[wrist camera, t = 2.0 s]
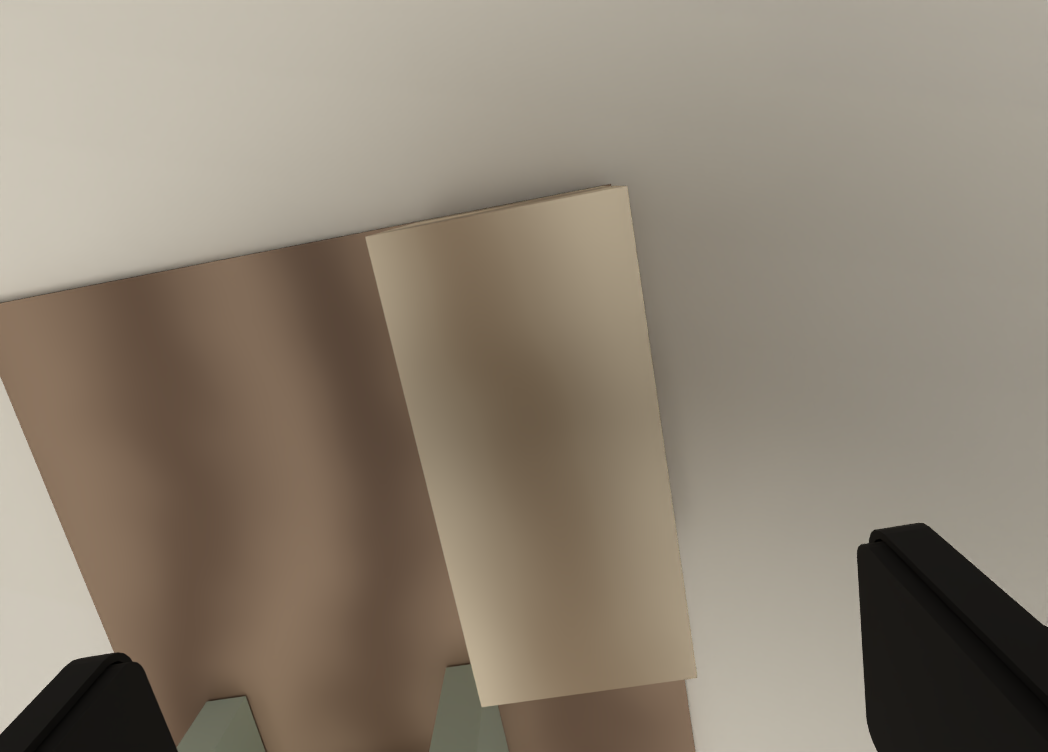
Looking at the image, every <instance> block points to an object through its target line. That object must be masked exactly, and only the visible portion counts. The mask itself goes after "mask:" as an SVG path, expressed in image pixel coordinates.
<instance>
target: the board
mask: <svg viewBox="0 0 1048 752" xmlns="http://www.w3.org/2000/svg"><path fill="white" fill-rule="evenodd" d="M603 186H611V184H608V185H603ZM598 187H600V186H598ZM593 188H595V187H593ZM587 189H590V188H587ZM582 190H584V189H582ZM577 191H579V190H577ZM572 192H574V191H572ZM567 193H569V192H567ZM562 194H564V193H562ZM557 195H559V194H557ZM552 196H554V195H552ZM546 197H549V196H546ZM541 198H543V197H541ZM536 199H538V198H536ZM531 200H533V199H531ZM526 201H528V200H526ZM521 202H523V201H521ZM516 203H518V202H516ZM511 204H513V203H511ZM505 205H508V204H505ZM500 206H502V205H500ZM495 207H497V206H495ZM490 208H492V207H490ZM485 209H487V208H485ZM480 210H482V209H480ZM475 211H477V210H475ZM470 212H472V211H470ZM464 213H467V212H464ZM459 214H461V213H459ZM454 215H456V214H454ZM449 216H451V215H449ZM444 217H446V216H444ZM439 218H441V217H439ZM434 219H436V218H434ZM429 220H431V219H429ZM423 221H426V220H423ZM418 222H420V221H418ZM413 223H416V222H413ZM409 224H412V223H408V224H403V225H398V226H393V227H388V228H382V229H377V230H372V231H367V232H362V233H357V234H352V235H347V236H341V237H336V238H331V239H326V240H321V241H316V242H311V243H306V244H300V245H295V246H290V247H285V248H280V249H275V250H270V251H265V252H259V253H254V254H249V255H244V256H239V257H234V258H229V259H224V260H218V261H213V262H208V263H203V264H198V265H193V266H188V267H183V268H177V269H172V270H167V271H162V272H157V273H152V274H147V275H142V276H136V277H131V278H126V279H121V280H116V281H111V282H106V283H101V284H95V285H90V286H85V287H80V288H75V289H70V290H65V291H60V292H54V293H49V294H44V295H39V296H34V297H29V298H24V299H19V300H13V301H8V302H3V303H0V377H1V379H2V382H3V384H4V386H5V389H6V391H7V394H8V396H9V399H10V401H11V403H12V406H13V408H14V411H15V413H16V416H17V418H18V420H19V423H20V425H21V428H22V430H23V433H24V435H25V437H26V440H27V442H28V445H29V447H30V449H31V452H32V454H33V457H34V459H35V462H36V464H37V466H38V469H39V471H40V474H41V476H42V479H43V481H44V483H45V486H46V488H47V491H48V493H49V496H50V498H51V500H52V503H53V505H54V508H55V510H56V513H57V515H58V517H59V520H60V522H61V525H62V527H63V530H64V532H65V534H66V537H67V539H68V542H69V544H70V547H71V549H72V551H73V554H74V556H75V559H76V561H77V564H78V566H79V568H80V571H81V573H82V576H83V578H84V581H85V583H86V585H87V588H88V590H89V593H90V595H91V598H92V600H93V602H94V605H95V607H96V610H97V612H98V615H99V617H100V619H101V622H102V624H103V627H104V629H105V631H106V634H107V636H108V639H109V641H110V644H111V646H112V648H113V651H114V653H116V652H120V653H125V654H126V655H127V656H129V657H130V658H131V660H132V661H133V662H138V663H139V664H140V665H141V666H142V667H143V669H144V671H145V673H146V675H147V678H148V680H149V683H150V685H151V687H152V690H153V692H154V695H155V697H156V699H157V702H158V704H159V707H160V709H161V712H162V714H163V716H164V719H165V721H166V724H167V726H168V729H169V731H170V733H171V736H172V738H173V741H174V743H175V745H176V748H177V746H178V745H179V743H180V742H181V740H182V739H183V737H184V735H185V734H186V732H187V731H188V729H189V728H190V726H191V725H192V723H193V722H194V720H195V719H196V717H197V716H198V714H199V713H200V711H201V709H202V708H203V706H204V705H205V703H206V702H207V701H215V700H222V699H229V698H236V697H243V696H246V699H247V701H248V704H249V707H250V710H251V713H252V715H253V718H254V721H255V724H256V727H257V729H258V732H259V735H260V738H261V741H262V743H263V746H264V749H265V752H429V750H430V745H431V740H432V735H433V730H434V725H435V720H436V715H437V710H438V705H439V700H440V695H441V690H442V685H443V680H444V675H445V671H446V668H447V667H454V666H461V665H468V664H471V663H470V658H469V654H468V650H467V646H466V642H465V638H464V634H463V630H462V626H461V622H460V618H459V614H458V610H457V606H456V602H455V598H454V594H453V590H452V586H451V582H450V578H449V574H448V570H447V566H446V562H445V558H444V553H443V549H442V545H441V541H440V537H439V533H438V529H437V525H436V521H435V517H434V513H433V509H432V505H431V501H430V497H429V493H428V489H427V485H426V481H425V477H424V473H423V469H422V465H421V461H420V457H419V453H418V448H417V444H416V440H415V436H414V432H413V428H412V424H411V420H410V416H409V412H408V408H407V404H406V400H405V396H404V392H403V388H402V384H401V380H400V376H399V372H398V368H397V364H396V360H395V356H394V352H393V348H392V343H391V339H390V335H389V331H388V327H387V323H386V319H385V315H384V311H383V307H382V303H381V299H380V295H379V291H378V287H377V283H376V279H375V275H374V271H373V267H372V263H371V259H370V255H369V251H368V247H367V243H366V238H365V237H366V236H370V235H373V234H377V233H381V232H384V231H388V230H391V229H395V228H398V227H402V226H405V225H409ZM498 708H499V712H500V717H501V721H502V725H503V729H504V733H505V737H506V742H507V746H508V750H509V752H695V746H694V740H693V733H692V726H691V720H690V713H689V706H688V699H687V693H686V686H685V680H678V681H670V682H663V683H656V684H648V685H641V686H634V687H626V688H619V689H612V690H605V691H597V692H590V693H583V694H575V695H568V696H561V697H553V698H546V699H539V700H531V701H524V702H517V703H509V704H502V705H498Z"/></svg>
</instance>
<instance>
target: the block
mask: <svg viewBox="0 0 1048 752" xmlns="http://www.w3.org/2000/svg"><path fill="white" fill-rule="evenodd" d="M177 750H178V752H265V749H264V746H263V743H262V741H261V738H260V735H259V732H258V729H257V727H256V724H255V721H254V718H253V715H252V713H251V710H250V707H249V704H248V701H247V699H246V696H243V697H236V698H229V699H222V700H215V701H207V702H206V703H205V705H204V706H203V708H202V709H201V711H200V713H199V714H198V716H197V717H196V719H195V720H194V722H193V723H192V725H191V726H190V728H189V729H188V731H187V732H186V734H185V735H184V737H183V739H182V740H181V742H180V743H179V745H178V746H177ZM429 752H509V750H508V746H507V742H506V737H505V733H504V729H503V725H502V721H501V717H500V712H499V708H498V705H495V706H488V707H481V703H480V699H479V695H478V691H477V687H476V683H475V679H474V675H473V671H472V667H471V664H468V665H461V666H454V667H447V668H446V671H445V675H444V680H443V685H442V690H441V695H440V700H439V705H438V710H437V715H436V720H435V725H434V730H433V735H432V740H431V745H430V750H429Z"/></svg>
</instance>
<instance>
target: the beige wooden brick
mask: <svg viewBox="0 0 1048 752" xmlns="http://www.w3.org/2000/svg"><path fill="white" fill-rule="evenodd" d="M365 238H366V243H367V247H368V251H369V255H370V259H371V263H372V267H373V271H374V275H375V279H376V283H377V287H378V291H379V295H380V299H381V303H382V307H383V311H384V315H385V319H386V323H387V327H388V331H389V335H390V339H391V343H392V348H393V352H394V356H395V360H396V364H397V368H398V372H399V376H400V380H401V384H402V388H403V392H404V396H405V400H406V404H407V408H408V412H409V416H410V420H411V424H412V428H413V432H414V436H415V440H416V444H417V448H418V453H419V457H420V461H421V465H422V469H423V473H424V477H425V481H426V485H427V489H428V493H429V497H430V501H431V505H432V509H433V513H434V517H435V521H436V525H437V529H438V533H439V537H440V541H441V545H442V549H443V553H444V558H445V562H446V566H447V570H448V574H449V578H450V582H451V586H452V590H453V594H454V598H455V602H456V606H457V610H458V614H459V618H460V622H461V626H462V630H463V634H464V638H465V642H466V646H467V650H468V654H469V658H470V663H471V667H472V671H473V675H474V679H475V683H476V687H477V691H478V695H479V699H480V703H481V707H488V706H495V705H502V704H509V703H517V702H524V701H531V700H539V699H546V698H553V697H561V696H568V695H575V694H583V693H590V692H597V691H605V690H612V689H619V688H626V687H634V686H641V685H648V684H656V683H663V682H670V681H678V680H685V679H692V678H697V672H696V665H695V658H694V651H693V644H692V637H691V630H690V623H689V616H688V609H687V602H686V595H685V588H684V581H683V574H682V567H681V560H680V553H679V546H678V539H677V532H676V525H675V518H674V510H673V503H672V496H671V489H670V482H669V475H668V468H667V461H666V454H665V447H664V440H663V433H662V426H661V419H660V412H659V405H658V398H657V391H656V384H655V377H654V370H653V363H652V356H651V349H650V342H649V335H648V328H647V321H646V314H645V307H644V300H643V293H642V286H641V279H640V272H639V265H638V258H637V251H636V244H635V237H634V230H633V223H632V216H631V209H630V202H629V195H628V188H627V186H600V187H595V188H590V189H584V190H579V191H574V192H569V193H564V194H559V195H554V196H549V197H543V198H538V199H533V200H528V201H523V202H518V203H513V204H508V205H502V206H497V207H492V208H487V209H482V210H477V211H472V212H467V213H461V214H456V215H451V216H446V217H441V218H436V219H431V220H426V221H420V222H416V223H412V224H409V225H405V226H402V227H398V228H395V229H391V230H388V231H384V232H381V233H377V234H373V235H370V236H366V237H365Z"/></svg>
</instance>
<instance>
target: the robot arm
mask: <svg viewBox="0 0 1048 752" xmlns="http://www.w3.org/2000/svg"><path fill="white" fill-rule="evenodd" d="M857 564H858V581H859V598H860V615H861V632H862V650H863V667H864V684H865V701H866V717H867V724H868V728H869V732H870V735H871V738H872V741H873V743H874V745H875V748H876V749H877V751H878V752H1048V627H1046V626H1044V625H1042V624H1041V623H1040V622H1039V621H1038V620H1037V619H1036V618H1034V617H1033V616H1032V615H1031V614H1030V613H1029V612H1027V611H1026V610H1025V609H1024V608H1023V607H1022V606H1020V605H1019V604H1018V603H1017V602H1016V601H1015V600H1014V599H1012V598H1011V597H1010V596H1009V595H1008V594H1007V593H1005V592H1004V591H1003V590H1002V589H1001V588H1000V587H998V586H997V585H996V584H995V583H994V582H993V581H992V580H990V579H989V578H988V577H987V576H986V575H985V574H983V573H982V572H981V571H980V570H979V569H978V568H976V567H975V566H974V565H973V564H972V563H971V562H970V561H968V560H967V559H966V558H965V557H964V556H963V555H961V554H960V553H959V552H958V551H957V550H956V549H954V548H953V547H952V546H951V545H950V544H949V543H948V542H946V541H945V540H944V539H943V538H942V537H941V536H939V535H938V534H937V533H936V532H935V531H934V530H932V529H931V528H930V527H929V526H927V525H926V524H924V523H915V524H909V525H902V526H896V527H890V528H884V529H878V530H874V531H873V532H872V533H871V535H870V538H869V543H867V544H861V545H860V546H859V547H858V550H857ZM0 752H178V750H177V748H176V745H175V743H174V741H173V738H172V736H171V733H170V731H169V729H168V726H167V724H166V721H165V719H164V716H163V714H162V712H161V709H160V707H159V704H158V702H157V699H156V697H155V695H154V692H153V690H152V687H151V685H150V683H149V680H148V678H147V675H146V673H145V671H144V669H143V667H142V666H141V665H140V664H139V663H138V662H133V661H132V660H131V658H130V657H129V656H127V655H126V654H125V653H120V652H116V653H110V654H104V655H98V656H92V657H85V658H80V659H76V660H73V661H72V662H70V663H69V664H68V665H66V666H65V667H64V668H63V669H62V670H61V671H60V672H59V674H58V675H57V676H56V677H55V678H54V679H53V680H52V681H51V682H50V683H49V684H48V685H47V686H46V687H45V688H44V689H43V690H42V691H41V692H40V693H39V694H38V696H37V697H36V698H35V699H34V700H33V701H32V702H31V703H30V704H29V705H28V706H27V707H26V708H25V709H24V710H23V711H22V712H21V713H20V714H19V715H18V717H17V718H16V719H15V720H14V721H13V722H12V723H11V724H10V725H9V726H8V727H7V728H6V729H5V730H4V731H3V732H2V733H1V734H0Z"/></svg>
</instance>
